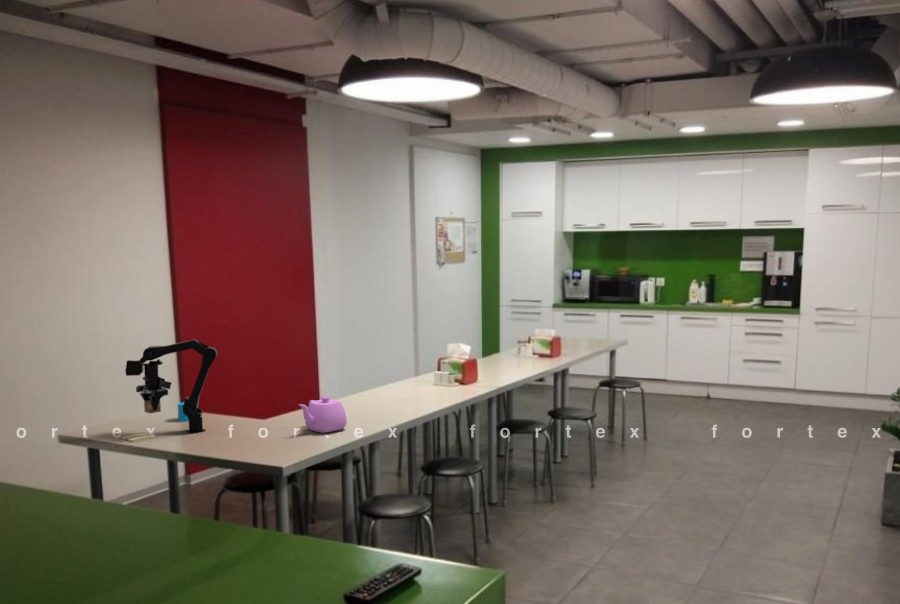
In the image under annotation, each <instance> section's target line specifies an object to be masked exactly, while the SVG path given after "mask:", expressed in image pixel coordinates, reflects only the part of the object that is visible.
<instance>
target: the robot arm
mask: <svg viewBox="0 0 900 604" xmlns="http://www.w3.org/2000/svg"><path fill="white" fill-rule="evenodd" d="M188 350H193V351H195V352H197V354H199V355H201V356H202V359H201V365H200V369H199V372H198V374H197V377H196V380H195V382H194V385H193V388H192V390H191V394H190V396H186V397H185V399H184V401H183V402H184V404H183V406H182V407H183V413H184V414H185V415H186V416H187V417H188V419H189V421H188V429H187V430H185V432H187V433H190V434H197V433H201V432H205V431H206V429H204V427H203V417H202V416H203V415H202V414H203V412H204V411H203V410H202V409H201V408H200V407H199V401H200V395H201V392H202V390H203V388H204V384H205V381H206V379H207V376H208V374H209V371H210V368H211V366H212V364H213V363H214V362H215V359H216V358H217V356H218V350H217V349H216V347H213V346H209V345H206V344H204V343H202V342H201V341H199V340H197V339H195V338H192V339H190V340H185V341H182V342H177V343H172V344H167V345H151V346H148V347H147V348H145V349H144V350H143V352H142V357H141V358H139V359H138V360H130V359H129V360H128V359H127V360H126V365H125V370H124V371H125V375H126V377H129V376H133V377H134V376H141V375H142V374H143V373H144V376H143V377H142V380H143V381H144V384H140V385H139V384H138V385H137V386H136V388H135V390H136V391H135V393H139V395H140V396H141V398H142V399H143V401H146V400H150V401H151V404H152V406H153V409H154V410H157V407H158V404H159V401H160V402H161V399H162V398H163V397H165V396H168V395H169V390H170V389H171V387H172V382H171V381H166V380H165V378H163V377H161V376H159V366H160V365H161V366H162V365H163V364H164V362H163V361H161V360H160V359H159V358H161V357H164V356H165V355H169V354H174V353H178V352H184V351H188ZM156 359H157V360H156ZM147 361H148V362H147Z"/></svg>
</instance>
